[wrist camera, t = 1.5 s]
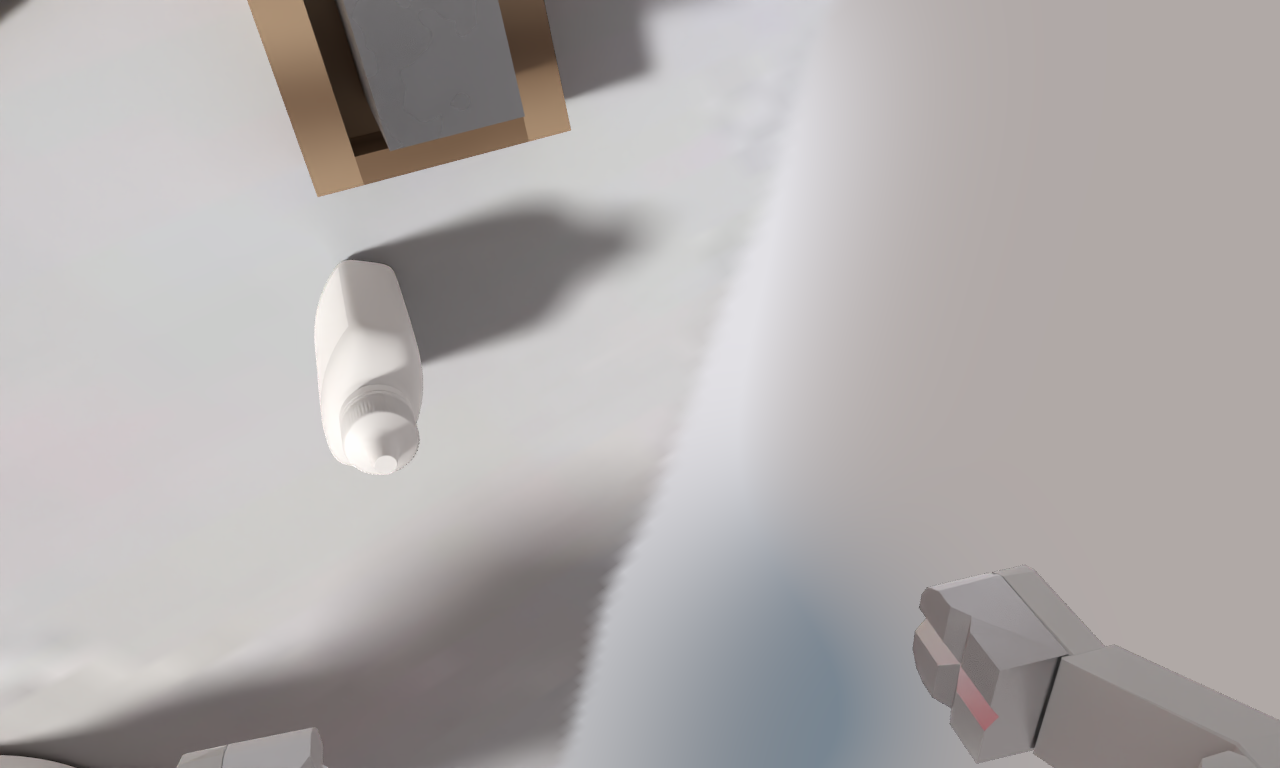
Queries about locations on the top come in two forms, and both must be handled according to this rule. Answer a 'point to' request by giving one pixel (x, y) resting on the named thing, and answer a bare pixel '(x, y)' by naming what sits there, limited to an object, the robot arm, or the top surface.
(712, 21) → the top surface
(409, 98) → the grey block
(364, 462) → the white squeeze bottle
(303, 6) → the divided box
